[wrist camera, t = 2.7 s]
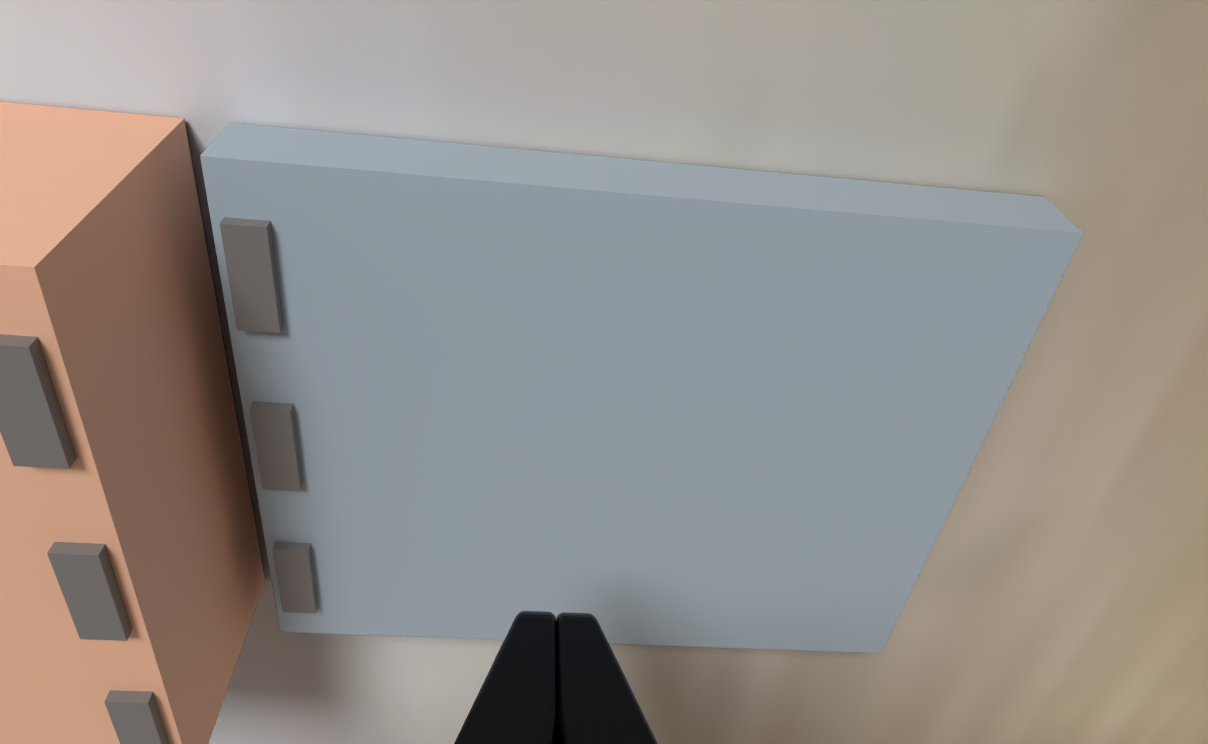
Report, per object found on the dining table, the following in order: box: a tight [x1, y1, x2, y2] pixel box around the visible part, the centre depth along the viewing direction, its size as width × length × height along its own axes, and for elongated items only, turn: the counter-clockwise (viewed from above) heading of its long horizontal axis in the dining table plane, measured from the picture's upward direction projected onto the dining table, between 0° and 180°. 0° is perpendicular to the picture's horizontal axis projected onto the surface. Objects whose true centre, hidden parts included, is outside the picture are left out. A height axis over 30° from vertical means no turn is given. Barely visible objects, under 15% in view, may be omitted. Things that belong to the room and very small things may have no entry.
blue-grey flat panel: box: [200, 123, 1083, 653], centre depth 12 cm, size 10×8×1 cm
